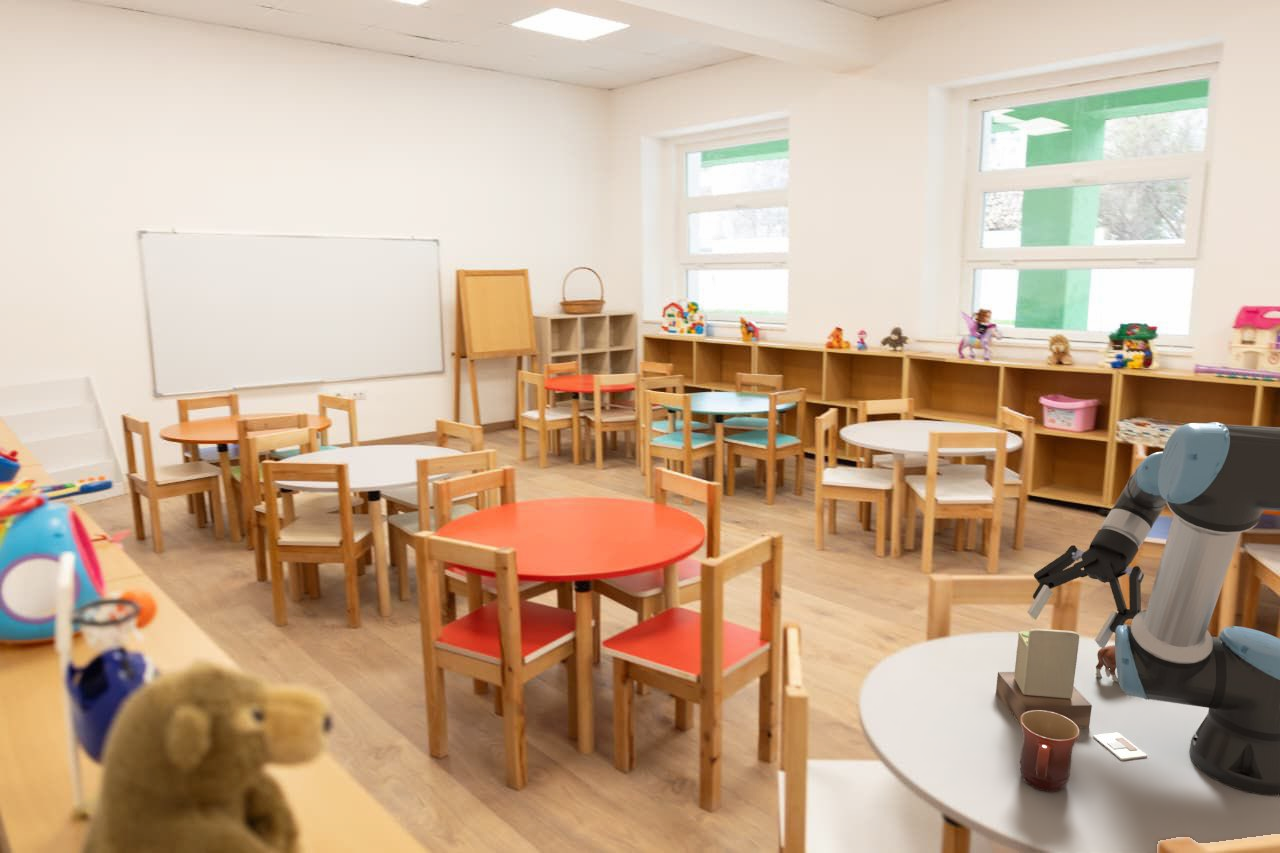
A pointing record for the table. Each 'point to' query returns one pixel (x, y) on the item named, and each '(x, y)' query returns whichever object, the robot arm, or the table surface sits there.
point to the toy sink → (1046, 662)
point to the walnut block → (1042, 701)
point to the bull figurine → (1107, 662)
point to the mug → (1047, 749)
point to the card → (1119, 746)
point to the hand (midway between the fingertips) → (1064, 629)
